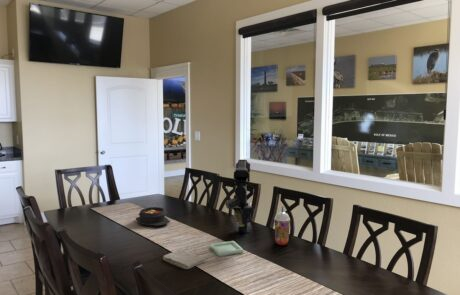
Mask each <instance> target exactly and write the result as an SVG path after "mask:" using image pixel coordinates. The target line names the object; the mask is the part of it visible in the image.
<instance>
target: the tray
mask: <svg viewBox="0 0 460 295" xmlns="http://www.w3.org/2000/svg"><path fill="white" fill-rule="evenodd" d="M209 244H210V245H209V246H210V249H211V250H212V251H213V252H214V253H215V254H216V255H217V256H218V257H226V256H231V255H237V254H243V253H244V249H243V248H242V247H241V246H240V245H239V244H238V243H237V242H236V241H234V240H231V241H230V240H229V241H223V242H222V241H221V242H216V243H215V242H214V243H209Z"/></svg>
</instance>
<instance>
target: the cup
mask: <svg viewBox="0 0 460 295" xmlns="http://www.w3.org/2000/svg"><path fill="white" fill-rule="evenodd" d="M239 212H240V211H239V210H237V209H236V211H233V215H234V222H235V221H236V222H235V223H237V227H238V226H241V227H242V226H244V225H243V223H242V215H241V214H240V213H239Z"/></svg>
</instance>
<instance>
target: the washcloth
mask: <svg viewBox="0 0 460 295" xmlns="http://www.w3.org/2000/svg"><path fill="white" fill-rule="evenodd" d="M162 260H163V261H165V262H167V263H169V264H171V265H174V266H176V267H179V268H182V269H184V270H190V269H192V268H193V267H196V266H198V265H200V264H204V263H205V258H204V257H202V256H200V255H197V254H194V253H191V252H188V251H187V250H183V249H177V250H176V251H174V252H173V251H172V252H169V253H167V254H164V255H163V256H162Z"/></svg>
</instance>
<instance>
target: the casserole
mask: <svg viewBox="0 0 460 295" xmlns="http://www.w3.org/2000/svg"><path fill="white" fill-rule="evenodd" d="M166 214H167V211H166V210H165V209H164V208H163V207H155V206H153V207H152V206H151V207H145V208H142V209H141V210H140V211H139V213H138V217H136V218H135V220H136V222H137V223H138V224H140V225H145V226H148V227H149V226H151V227H152V226H155V227H156V226H157V227H159V226H163V225H164V226H165V225H167V224H169V223H171V221H170V219H168V218H167V217H166Z"/></svg>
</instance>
